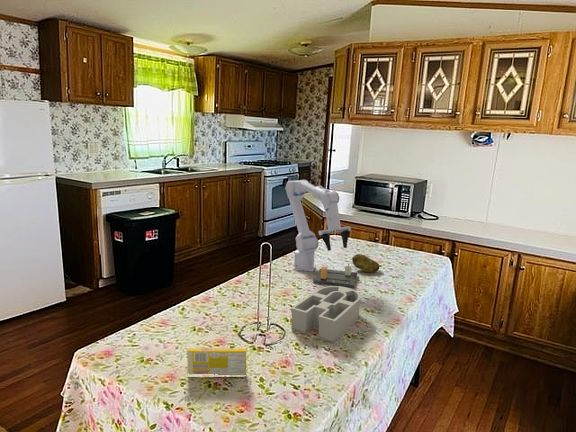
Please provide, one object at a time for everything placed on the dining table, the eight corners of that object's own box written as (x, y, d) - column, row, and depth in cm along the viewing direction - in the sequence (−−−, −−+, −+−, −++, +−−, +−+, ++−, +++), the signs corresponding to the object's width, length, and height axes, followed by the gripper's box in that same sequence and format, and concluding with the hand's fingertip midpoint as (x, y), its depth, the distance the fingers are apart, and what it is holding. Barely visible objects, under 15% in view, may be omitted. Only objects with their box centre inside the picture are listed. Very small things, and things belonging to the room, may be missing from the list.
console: (313, 283, 185) (313, 279, 185) (319, 271, 200) (319, 268, 200) (353, 288, 181) (353, 284, 181) (357, 275, 196) (357, 272, 196)
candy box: (246, 374, 118) (246, 347, 116) (246, 378, 115) (246, 351, 114) (188, 374, 117) (188, 347, 115) (187, 378, 115) (186, 351, 113)
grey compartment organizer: (290, 331, 143) (290, 308, 141) (326, 303, 166) (327, 282, 164) (333, 345, 134) (335, 321, 132) (365, 313, 158) (367, 292, 156)
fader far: (344, 275, 191) (345, 265, 190) (345, 272, 195) (346, 263, 194) (350, 275, 191) (350, 266, 190) (351, 272, 194) (351, 263, 193)
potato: (375, 276, 196) (376, 259, 195) (349, 270, 202) (350, 255, 201) (380, 270, 203) (381, 255, 202) (355, 266, 209) (356, 250, 208)
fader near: (320, 278, 186) (320, 268, 185) (321, 275, 190) (322, 266, 189) (325, 279, 186) (326, 269, 185) (327, 276, 189) (327, 266, 188)
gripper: (320, 220, 178) (325, 251, 177) (351, 216, 182) (356, 246, 181) (315, 221, 184) (319, 251, 184) (345, 217, 188) (349, 246, 188)
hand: (337, 249), depth 183 cm, fingers open, 7 cm apart
